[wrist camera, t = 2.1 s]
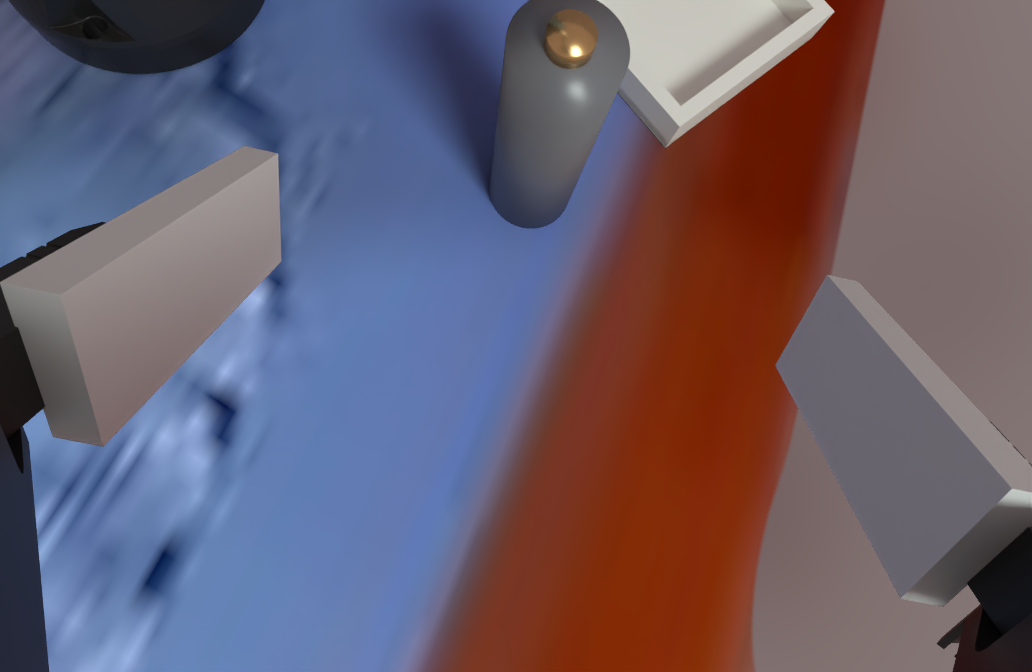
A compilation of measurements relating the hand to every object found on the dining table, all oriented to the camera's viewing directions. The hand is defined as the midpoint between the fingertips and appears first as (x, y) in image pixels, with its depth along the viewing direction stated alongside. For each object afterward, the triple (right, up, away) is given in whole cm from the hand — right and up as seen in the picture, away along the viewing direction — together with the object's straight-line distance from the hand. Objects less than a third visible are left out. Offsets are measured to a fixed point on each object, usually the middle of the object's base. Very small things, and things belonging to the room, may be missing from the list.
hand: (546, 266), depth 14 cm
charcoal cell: (0, +7, +22) cm, 23 cm away
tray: (+10, +20, +25) cm, 34 cm away
